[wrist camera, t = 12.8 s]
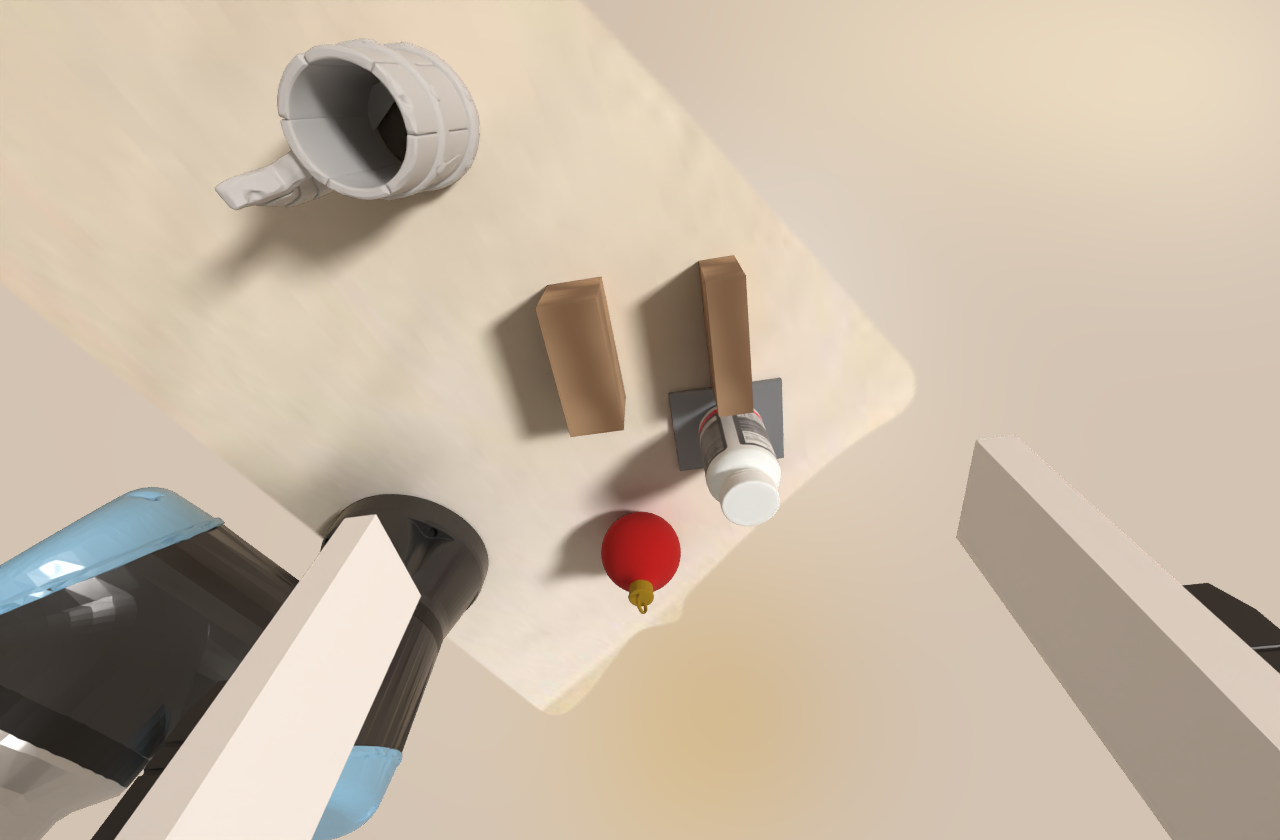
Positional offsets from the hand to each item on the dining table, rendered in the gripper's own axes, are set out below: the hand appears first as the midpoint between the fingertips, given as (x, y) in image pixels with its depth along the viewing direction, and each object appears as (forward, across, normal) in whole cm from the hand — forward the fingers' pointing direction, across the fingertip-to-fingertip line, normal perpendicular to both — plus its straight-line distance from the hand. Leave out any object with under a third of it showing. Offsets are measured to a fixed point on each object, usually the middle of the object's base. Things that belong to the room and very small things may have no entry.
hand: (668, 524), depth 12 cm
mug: (+29, -15, +9) cm, 34 cm away
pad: (+29, +4, -16) cm, 33 cm away
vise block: (+29, 0, -7) cm, 30 cm away
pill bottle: (+28, +4, -16) cm, 33 cm away
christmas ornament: (+29, -5, -26) cm, 39 cm away
